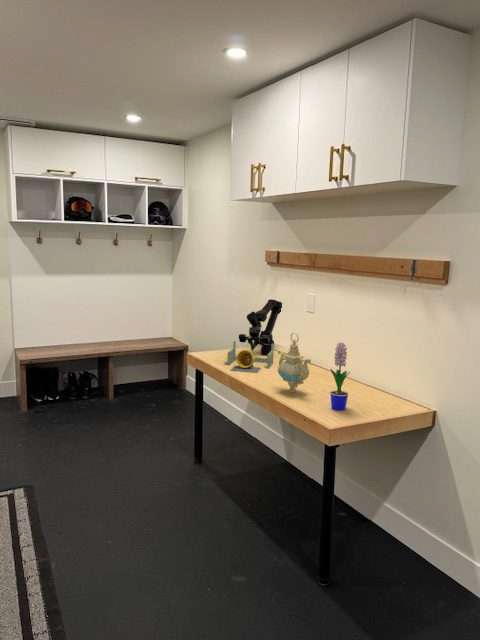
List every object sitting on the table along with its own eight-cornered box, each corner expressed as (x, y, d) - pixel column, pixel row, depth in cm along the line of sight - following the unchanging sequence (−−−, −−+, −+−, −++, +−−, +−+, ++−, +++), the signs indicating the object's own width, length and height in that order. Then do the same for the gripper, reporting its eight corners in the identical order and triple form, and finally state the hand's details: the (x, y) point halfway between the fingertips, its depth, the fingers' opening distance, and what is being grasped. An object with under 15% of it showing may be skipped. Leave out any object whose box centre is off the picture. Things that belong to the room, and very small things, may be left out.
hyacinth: (328, 411, 218) (331, 344, 214) (328, 404, 228) (331, 340, 224) (348, 413, 216) (352, 345, 212) (347, 405, 226) (351, 341, 222)
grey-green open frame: (233, 359, 313) (233, 341, 311) (273, 362, 307) (273, 343, 305) (227, 365, 298) (227, 345, 296) (269, 368, 293) (269, 348, 291)
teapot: (317, 396, 239) (320, 335, 235) (298, 400, 233) (300, 337, 229) (287, 384, 259) (289, 328, 255) (269, 387, 253) (270, 329, 249)
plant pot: (236, 359, 300) (232, 358, 291) (249, 347, 299) (245, 346, 290) (247, 372, 298) (243, 371, 288) (260, 360, 297) (256, 359, 287)
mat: (234, 366, 297) (234, 365, 297) (261, 368, 293) (261, 367, 293) (230, 370, 285) (230, 370, 285) (257, 373, 282) (257, 372, 282)
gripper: (239, 321, 308) (235, 342, 299) (269, 322, 304) (265, 343, 295) (241, 331, 317) (237, 352, 308) (270, 333, 313) (267, 353, 304)
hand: (252, 350), depth 304 cm, fingers closed
